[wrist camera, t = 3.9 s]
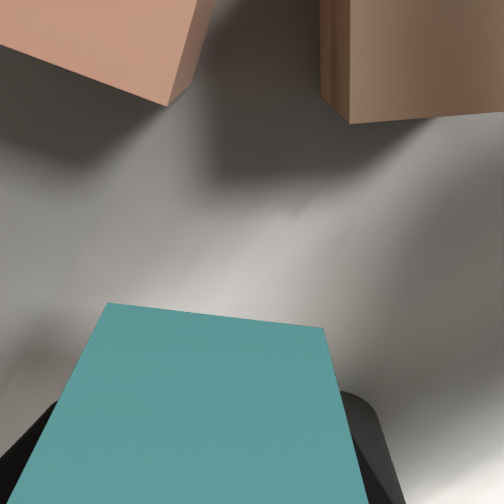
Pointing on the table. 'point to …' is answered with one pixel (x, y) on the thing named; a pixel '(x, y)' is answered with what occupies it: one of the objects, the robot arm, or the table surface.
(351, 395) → the dark grey cylinder
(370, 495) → the robot arm
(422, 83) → the walnut cube
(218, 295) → the table surface
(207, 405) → the teal cube
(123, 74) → the terracotta cube
